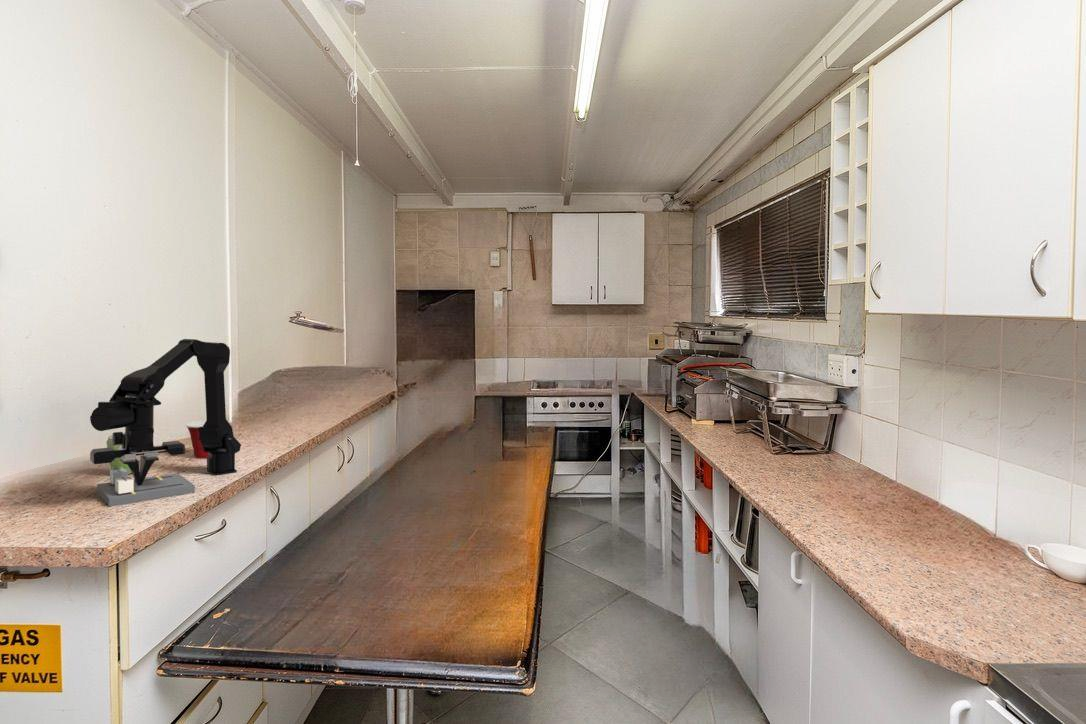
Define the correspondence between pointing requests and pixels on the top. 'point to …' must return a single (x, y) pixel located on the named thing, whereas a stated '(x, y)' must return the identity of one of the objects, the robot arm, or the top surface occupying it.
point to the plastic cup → (197, 438)
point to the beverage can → (116, 462)
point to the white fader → (117, 474)
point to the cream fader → (124, 485)
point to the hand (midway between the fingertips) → (139, 485)
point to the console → (147, 489)
